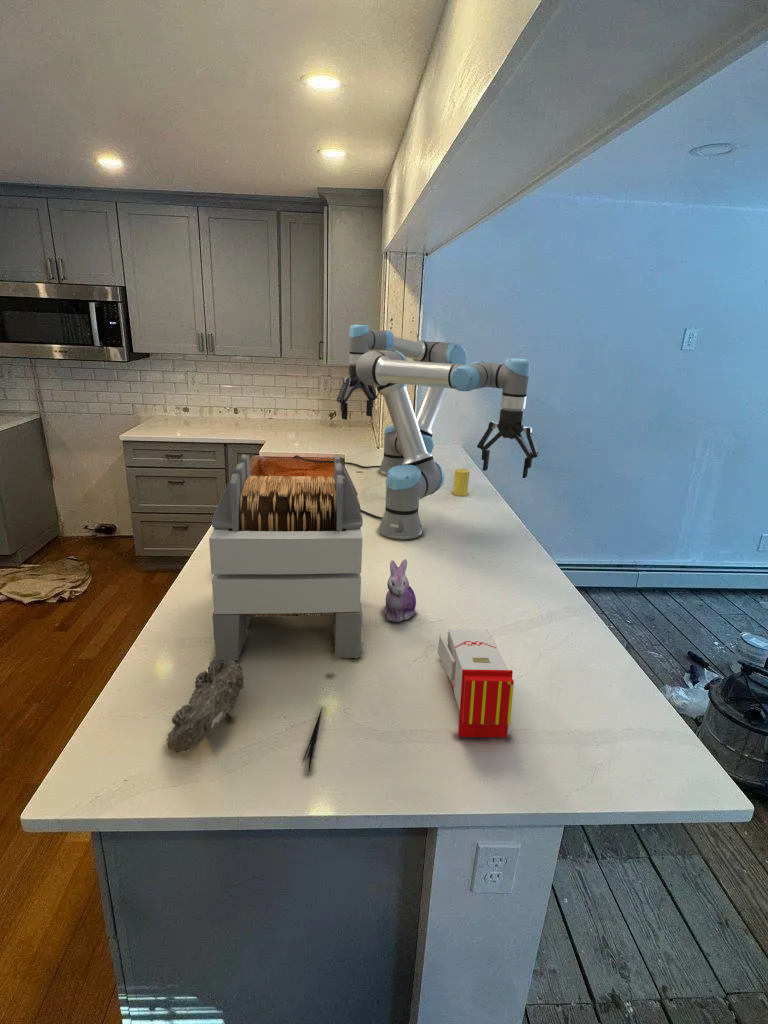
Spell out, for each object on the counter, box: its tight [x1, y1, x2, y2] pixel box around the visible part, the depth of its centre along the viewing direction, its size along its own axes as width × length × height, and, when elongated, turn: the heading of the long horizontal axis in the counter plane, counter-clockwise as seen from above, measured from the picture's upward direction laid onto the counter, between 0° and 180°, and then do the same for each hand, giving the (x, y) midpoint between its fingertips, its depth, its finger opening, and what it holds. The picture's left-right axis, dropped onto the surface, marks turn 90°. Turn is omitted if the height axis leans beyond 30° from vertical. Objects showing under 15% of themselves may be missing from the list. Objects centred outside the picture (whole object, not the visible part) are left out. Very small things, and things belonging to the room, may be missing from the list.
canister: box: [452, 468, 470, 497], centre depth 245 cm, size 6×6×10 cm
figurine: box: [384, 558, 417, 623], centre depth 145 cm, size 9×10×15 cm
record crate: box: [208, 453, 364, 661], centre depth 135 cm, size 34×33×41 cm
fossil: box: [166, 659, 245, 754], centre depth 106 cm, size 22×10×15 cm
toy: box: [437, 628, 515, 738], centre depth 117 cm, size 12×13×30 cm
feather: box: [301, 673, 332, 771], centre depth 108 cm, size 2×28×2 cm
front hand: (504, 473), depth 187 cm, fingers open, 13 cm apart
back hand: (356, 417), depth 235 cm, fingers open, 13 cm apart
